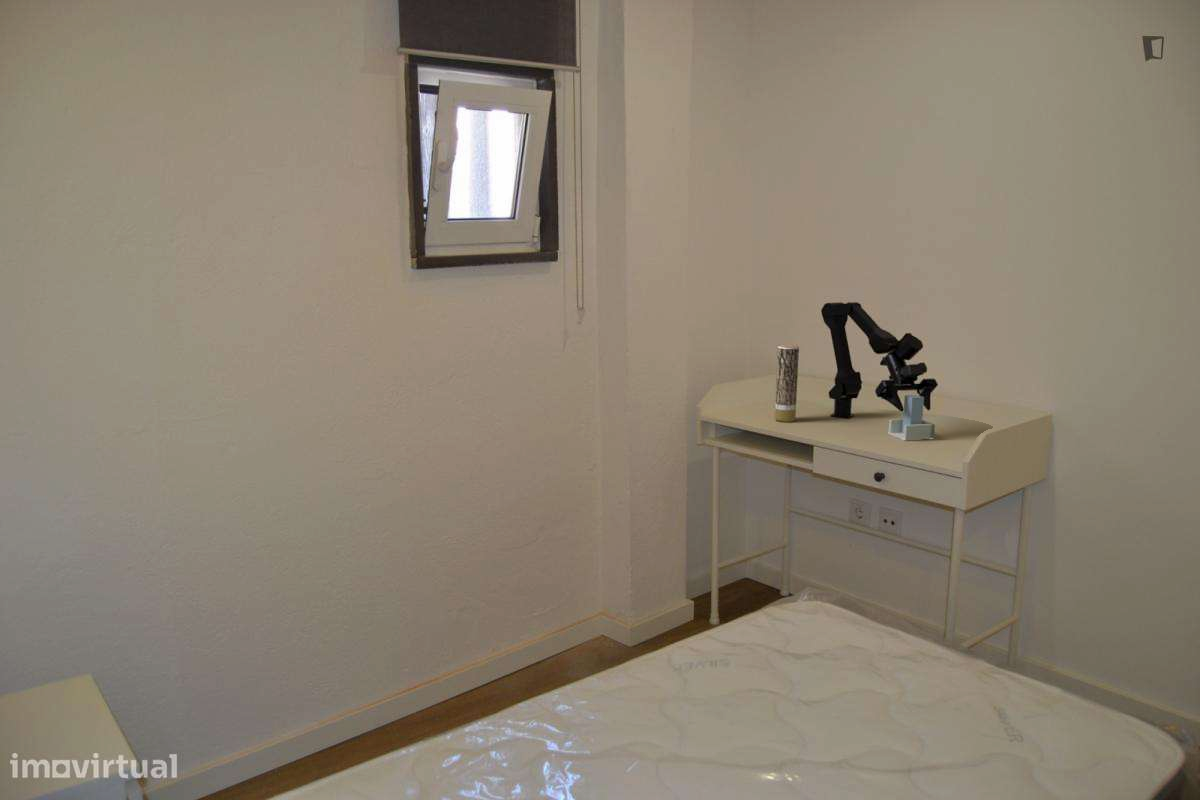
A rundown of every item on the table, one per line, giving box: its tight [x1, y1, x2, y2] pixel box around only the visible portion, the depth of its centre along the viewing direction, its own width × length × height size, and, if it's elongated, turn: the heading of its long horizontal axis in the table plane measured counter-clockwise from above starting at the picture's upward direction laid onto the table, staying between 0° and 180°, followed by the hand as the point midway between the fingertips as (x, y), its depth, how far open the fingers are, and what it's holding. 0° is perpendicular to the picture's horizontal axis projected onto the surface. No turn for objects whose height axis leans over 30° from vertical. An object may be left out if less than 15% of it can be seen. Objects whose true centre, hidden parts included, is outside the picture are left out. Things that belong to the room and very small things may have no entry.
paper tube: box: [774, 344, 800, 423], centre depth 289 cm, size 7×7×25 cm
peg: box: [902, 394, 924, 434], centre depth 268 cm, size 4×4×12 cm
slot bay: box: [887, 418, 936, 442], centre depth 269 cm, size 10×9×5 cm
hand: (915, 410), depth 267 cm, fingers open, 9 cm apart
